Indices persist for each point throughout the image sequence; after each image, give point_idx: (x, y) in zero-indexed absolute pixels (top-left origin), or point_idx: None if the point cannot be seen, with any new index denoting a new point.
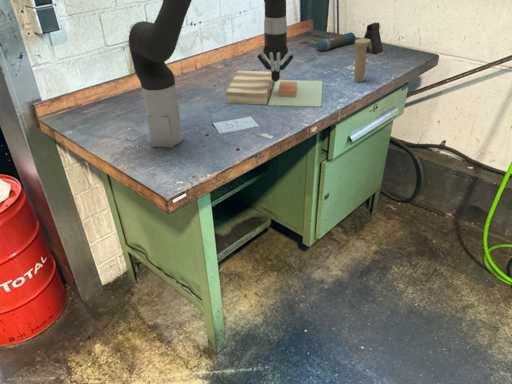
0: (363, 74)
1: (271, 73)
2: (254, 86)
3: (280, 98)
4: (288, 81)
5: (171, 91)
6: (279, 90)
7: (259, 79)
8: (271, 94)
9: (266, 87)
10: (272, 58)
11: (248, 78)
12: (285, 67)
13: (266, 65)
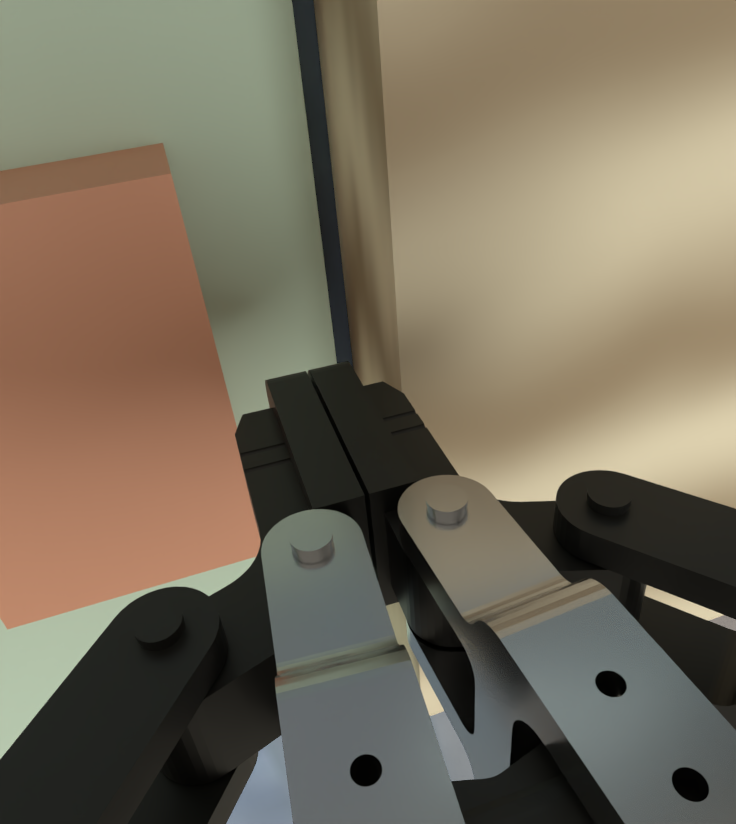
0: None
1: (443, 457)
2: (659, 114)
3: (94, 71)
4: None
5: None
6: (147, 175)
7: (582, 444)
8: (312, 223)
9: (428, 112)
10: (679, 821)
11: (728, 428)
12: (65, 679)
13: (685, 537)
